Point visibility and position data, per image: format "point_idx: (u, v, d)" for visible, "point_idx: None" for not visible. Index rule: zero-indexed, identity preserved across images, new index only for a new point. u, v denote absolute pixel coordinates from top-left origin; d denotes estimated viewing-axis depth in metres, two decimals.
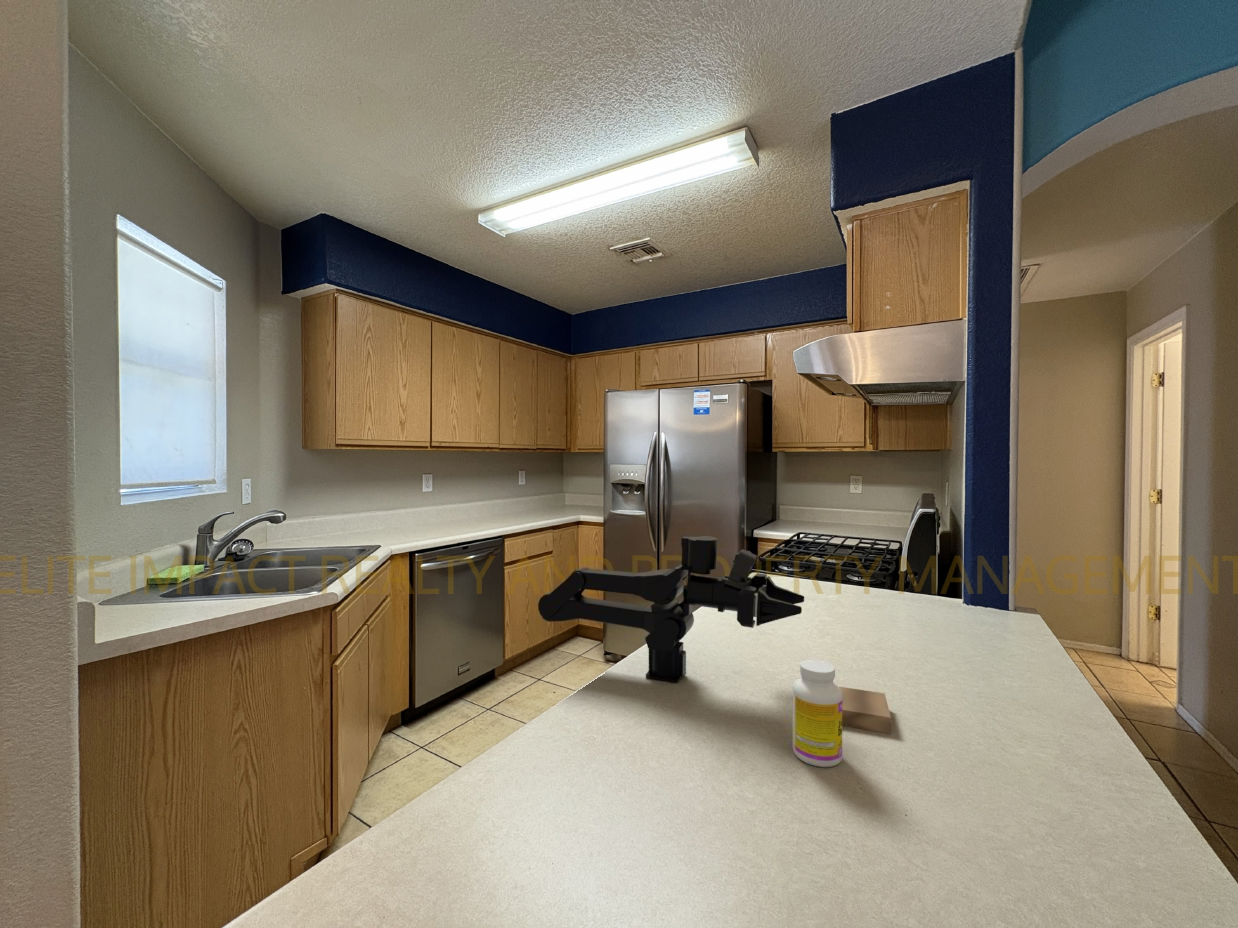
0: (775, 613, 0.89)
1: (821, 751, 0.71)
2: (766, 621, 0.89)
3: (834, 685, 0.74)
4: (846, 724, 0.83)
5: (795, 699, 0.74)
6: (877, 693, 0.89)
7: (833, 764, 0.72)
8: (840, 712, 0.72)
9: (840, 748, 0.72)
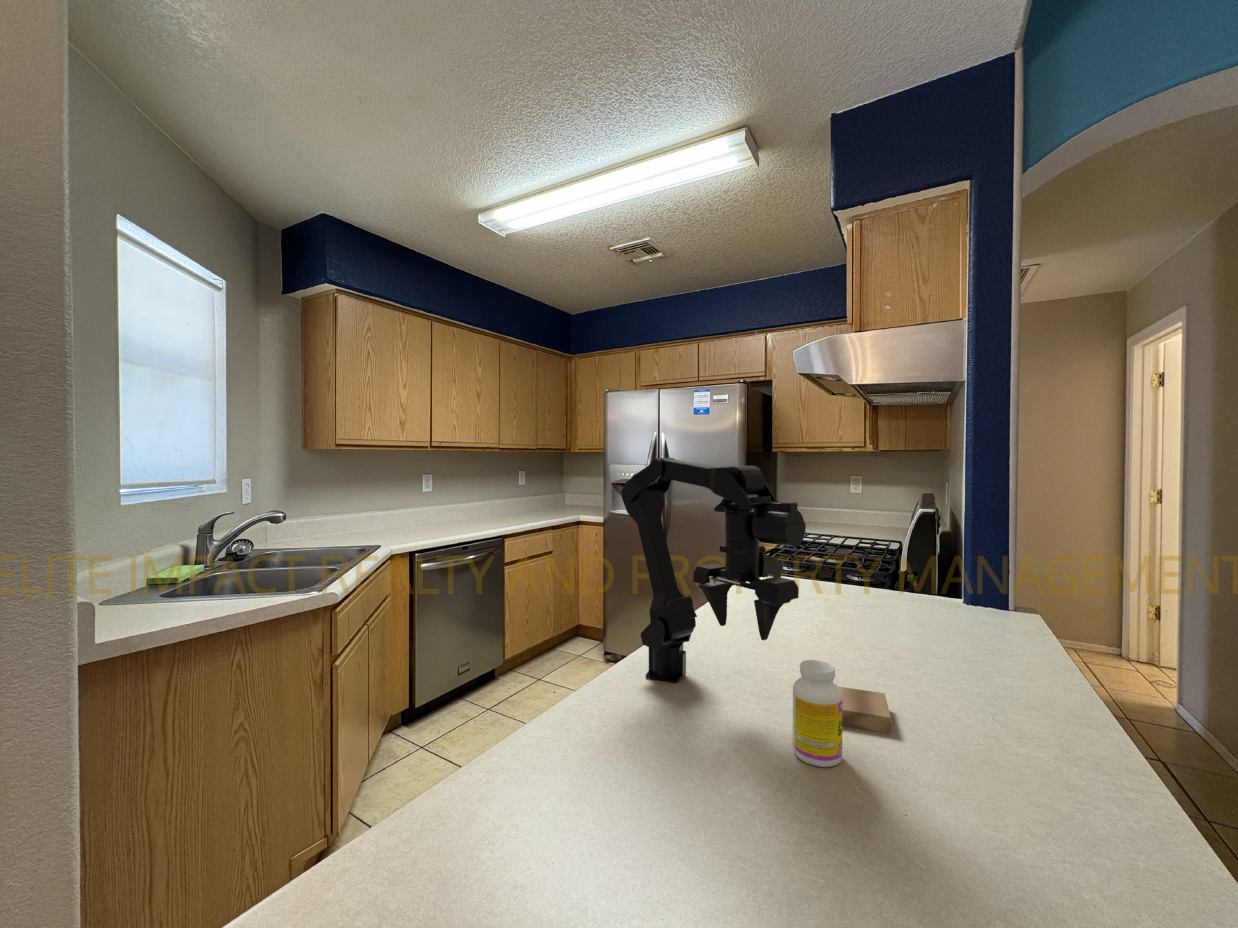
0: (766, 617, 0.83)
1: (821, 751, 0.71)
2: (764, 611, 0.81)
3: (834, 685, 0.74)
4: (846, 724, 0.83)
5: (795, 699, 0.74)
6: (877, 693, 0.89)
7: (833, 764, 0.72)
8: (840, 712, 0.72)
9: (840, 748, 0.72)
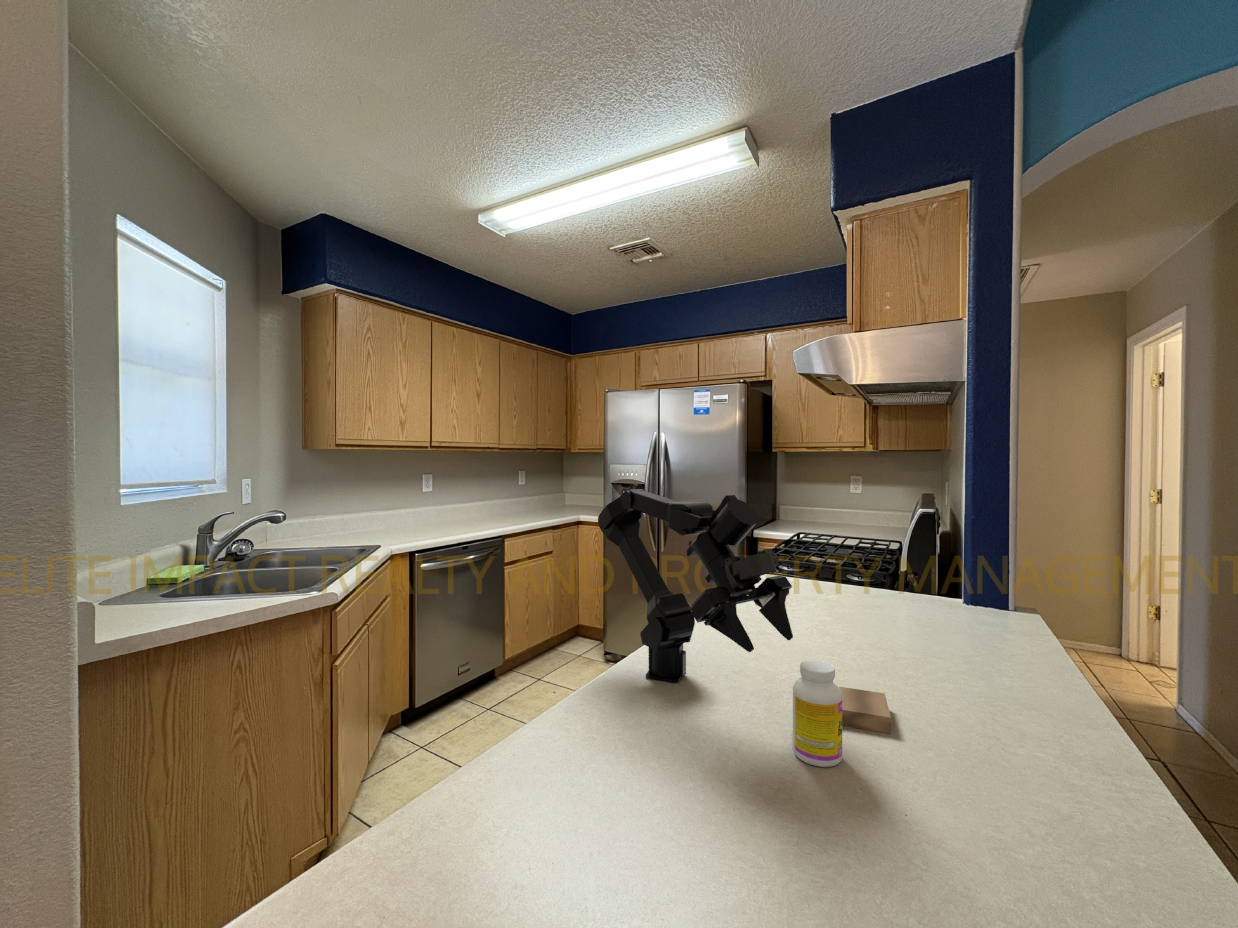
0: (728, 630, 0.81)
1: (821, 751, 0.71)
2: (716, 628, 0.82)
3: (834, 685, 0.74)
4: (846, 724, 0.83)
5: (795, 699, 0.74)
6: (877, 693, 0.89)
7: (833, 764, 0.72)
8: (840, 712, 0.72)
9: (840, 748, 0.72)
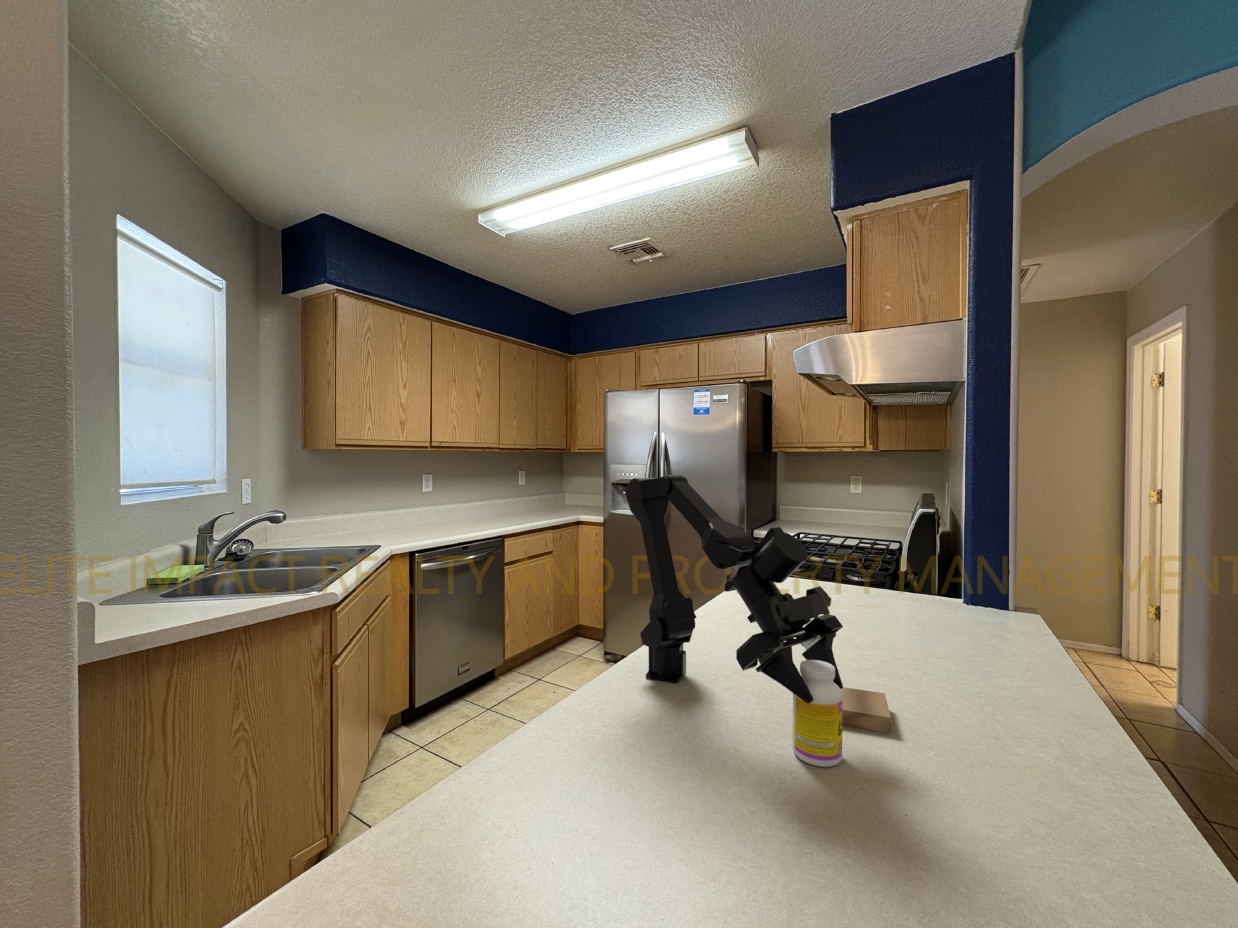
0: (783, 678, 0.74)
1: (821, 751, 0.71)
2: (769, 675, 0.75)
3: (834, 685, 0.74)
4: (846, 724, 0.83)
5: (795, 699, 0.74)
6: (877, 693, 0.89)
7: (833, 764, 0.72)
8: (840, 712, 0.72)
9: (840, 748, 0.72)
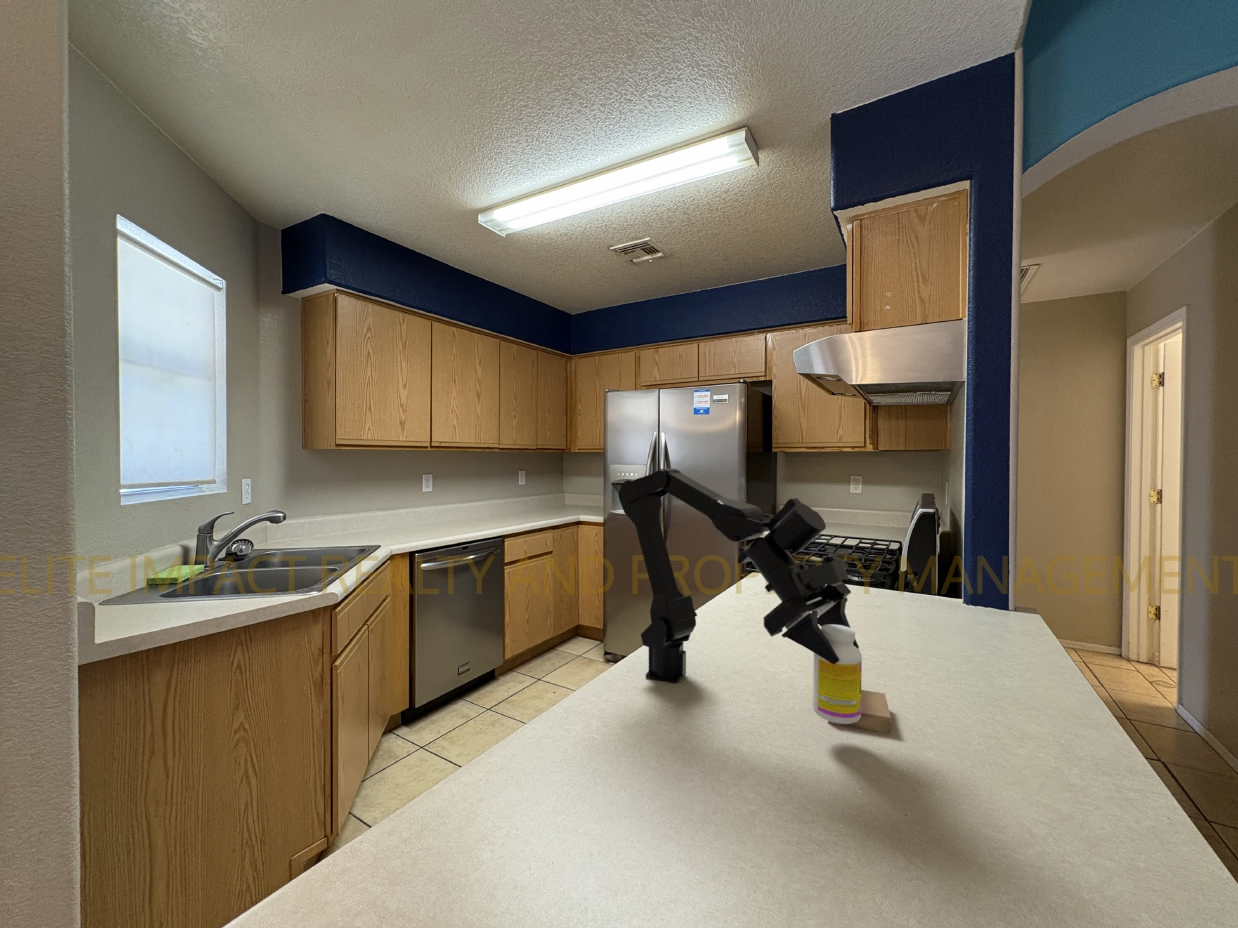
0: (809, 642, 0.76)
1: (845, 709, 0.75)
2: (794, 640, 0.77)
3: (854, 646, 0.77)
4: (846, 724, 0.83)
5: (818, 662, 0.77)
6: (877, 693, 0.89)
7: (855, 720, 0.75)
8: (861, 671, 0.76)
9: (860, 705, 0.76)
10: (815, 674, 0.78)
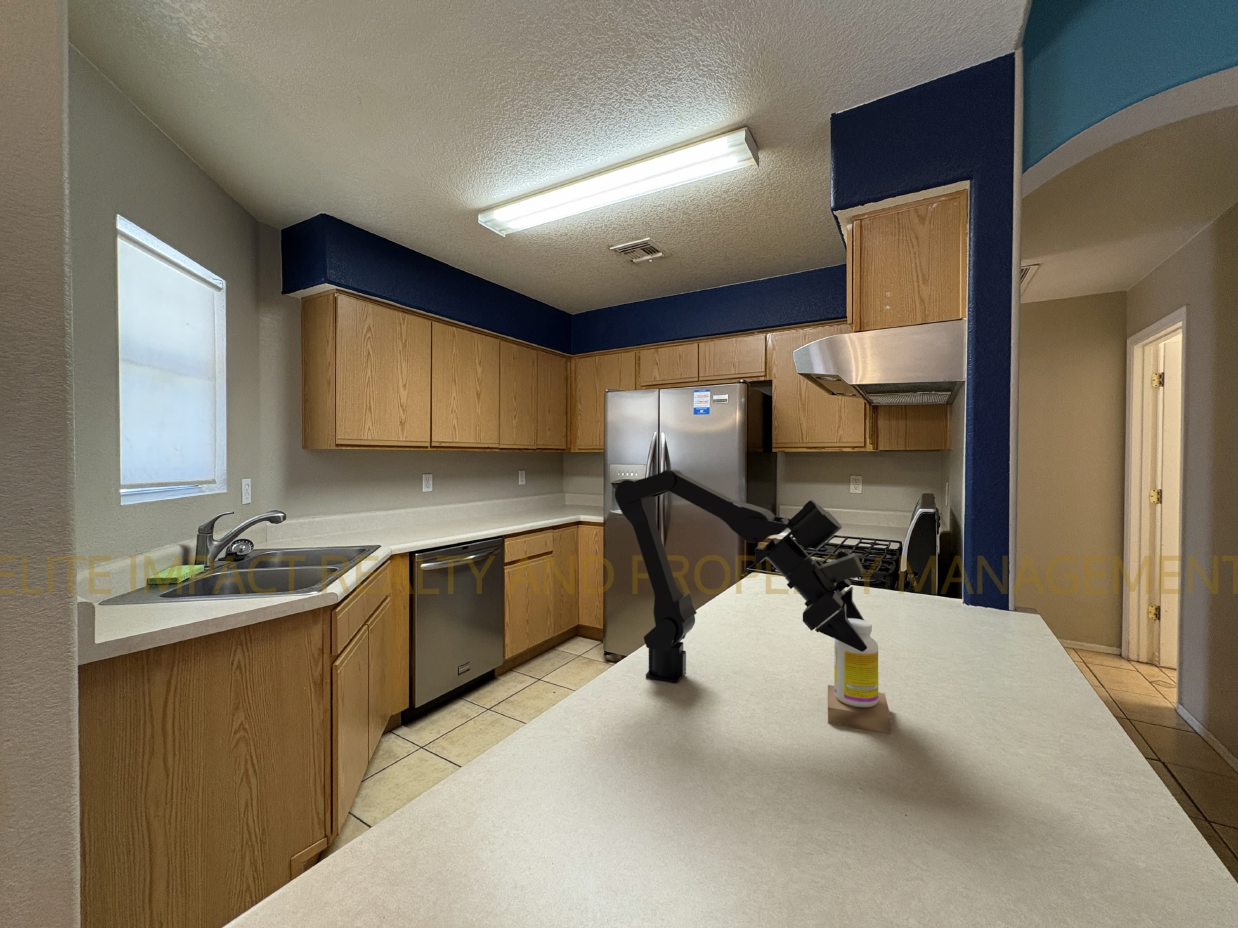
0: (839, 633, 0.82)
1: (870, 693, 0.83)
2: (826, 633, 0.82)
3: (869, 636, 0.87)
4: (846, 724, 0.83)
5: (844, 654, 0.85)
6: None
7: (876, 703, 0.84)
8: None
9: None
10: (840, 666, 0.85)
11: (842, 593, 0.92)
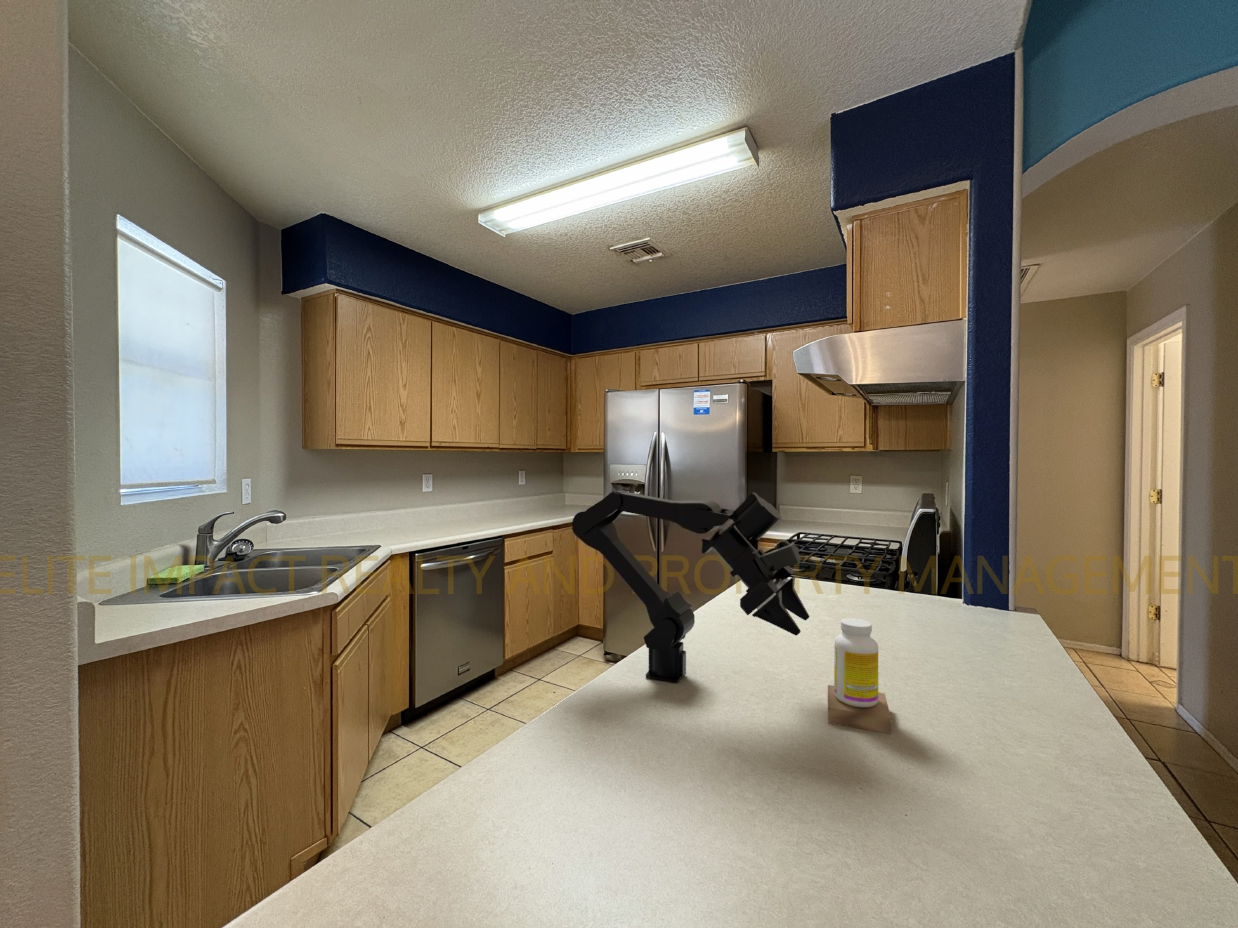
0: (775, 618, 0.87)
1: (870, 693, 0.83)
2: (762, 618, 0.87)
3: None
4: (846, 724, 0.83)
5: (844, 654, 0.85)
6: None
7: (876, 703, 0.84)
8: None
9: None
10: (840, 665, 0.85)
11: (784, 581, 0.97)
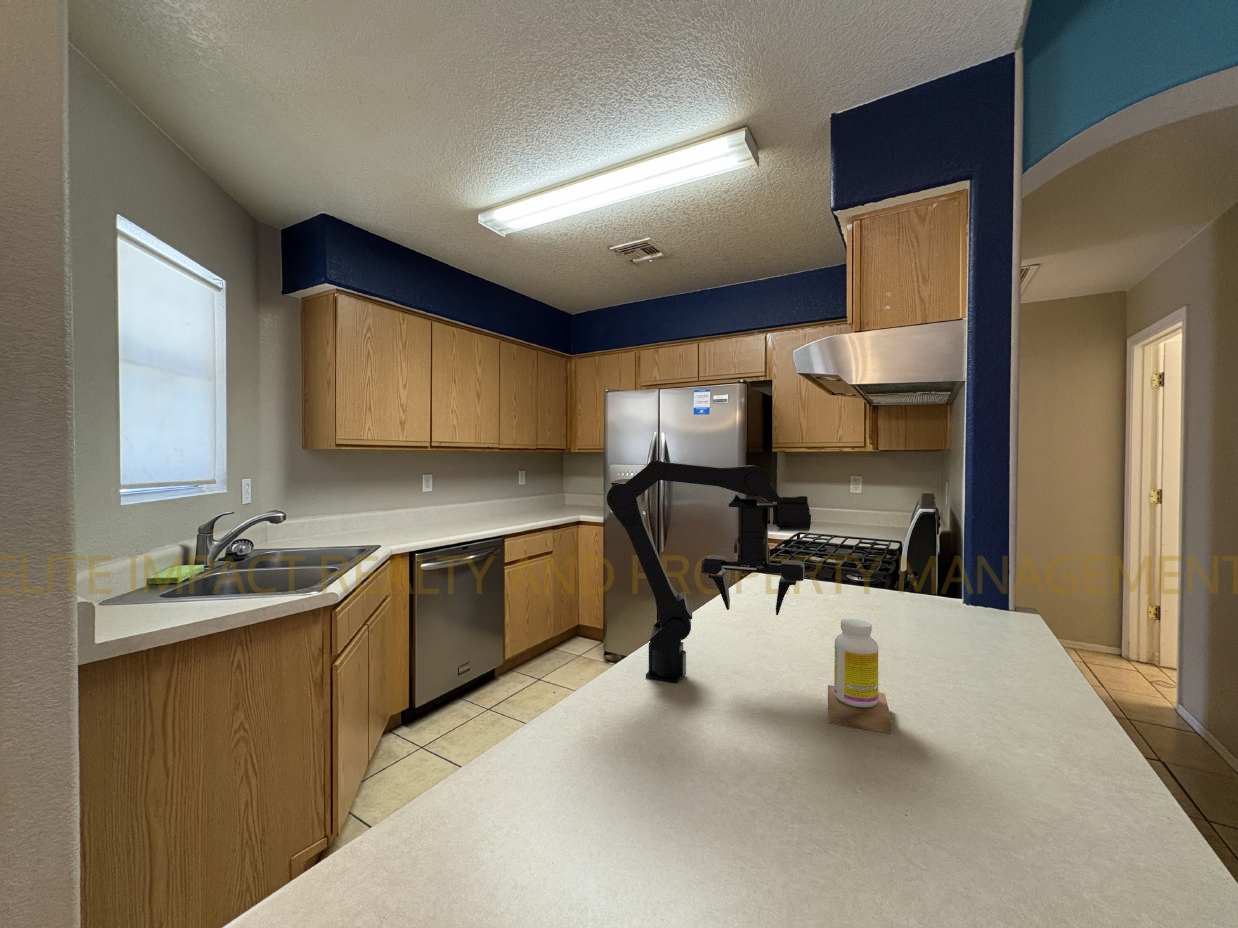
0: None
1: (870, 693, 0.83)
2: None
3: None
4: (846, 724, 0.83)
5: (844, 654, 0.85)
6: None
7: (876, 703, 0.84)
8: None
9: None
10: (840, 666, 0.85)
11: (724, 570, 1.03)
